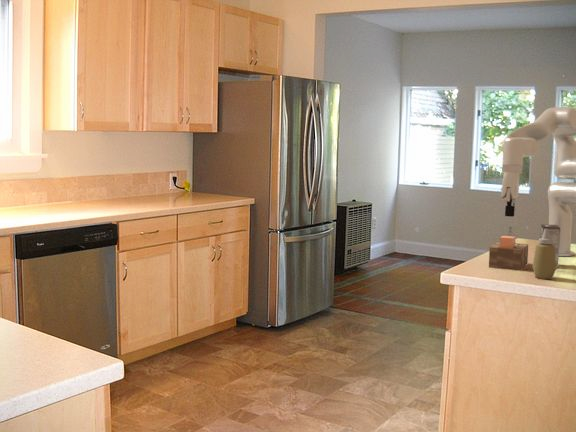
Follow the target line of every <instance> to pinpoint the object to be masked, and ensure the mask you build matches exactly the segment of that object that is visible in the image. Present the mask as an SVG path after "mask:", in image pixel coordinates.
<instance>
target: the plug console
mask: <svg viewBox="0 0 576 432" xmlns="http://www.w3.org/2000/svg"><path fill="white" fill-rule="evenodd" d="M515 244H519V245H518V246H515V248H514V249H510V248H500V241H497V242H496V243H494V244H492V245H491V246H489V256H488V268H491V269H500V268H501V270H502V269H503V270H512V271H522V270H523V269H524V267H526V266H527V265H528V263H529V262H528V259H529V244H527V243H516V242H515Z"/></svg>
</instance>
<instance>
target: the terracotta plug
mask: <svg viewBox="0 0 576 432" xmlns="http://www.w3.org/2000/svg"><path fill="white" fill-rule="evenodd" d="M499 242H500V248H510V249H514V248H515V243H516V236H509V235H501V236H500V237H499Z"/></svg>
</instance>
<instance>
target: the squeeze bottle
mask: <svg viewBox="0 0 576 432" xmlns="http://www.w3.org/2000/svg"><path fill="white" fill-rule="evenodd" d="M534 250H535V251H534V254H533V255H534V256H533V263H532V270H533V274H534V276H535V278H537V279H540V280H550V279H553V278H554V275H555V272H556V269H557V268H556V259H555V246H554V245H552V239H550V238H549V232H548V229H544V233H543V236H542V238H540V237H539V238H538V243H537V244H536V245H535V249H534Z"/></svg>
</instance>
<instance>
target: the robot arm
mask: <svg viewBox="0 0 576 432" xmlns="http://www.w3.org/2000/svg"><path fill="white" fill-rule="evenodd" d="M551 135H552V136H553V139H554V140H555V144H556V152H555V159H554V160H555V162H554V169H553V170H554V175H555V177H556V178H558V179H564V180H576V139H575V138H574V137H573V136H576V108H574V107H568V106H567V107H564V106H563V107H560V106H559V107H557V106H556V107H555V106H554V107H549V108H547V109H545V110H544V111H543V112H542V113H541V114H540V115H539V116H538V118H536V119H535V120H534V121H533V122H531V123H528V124H525V125H523V126H521V127H518V128H516V129H514V130H513V131H511V132H510V133H509V134H508V135H507V136H505V138H504V139H503V141H502V142H501V152H502V165H501V167H502V169H501V173H502V174H503V175H502V176H503V177H502V185H501V193H500V194H501V195H500V197H501V198H502V199H505V210H504V211H505V212H504V217H515V210H516V208H515V205H516V204H515V203H516V199H517V198H518V197H519V189H520V174H523V165H524V163H523V161H524V158H528V157H529V158H530V157H533V156H536V155H537V154H538V153H539V151H540V143H539V142H540V141H544V140H546V139H548V138H549V137H550V136H551ZM547 198H548V208H549V209H548V225H558V226H559V227H560V242H559V257H573V256H574V255H575V252H574V251H573V250H572V251H571V248H572V247H571V245H572V228H573V224H572V223H573V213H572V210H571V208H570V205H571V206H576V182H571V181H555V182H552V183H550V185H549V186H548V189H547Z"/></svg>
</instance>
